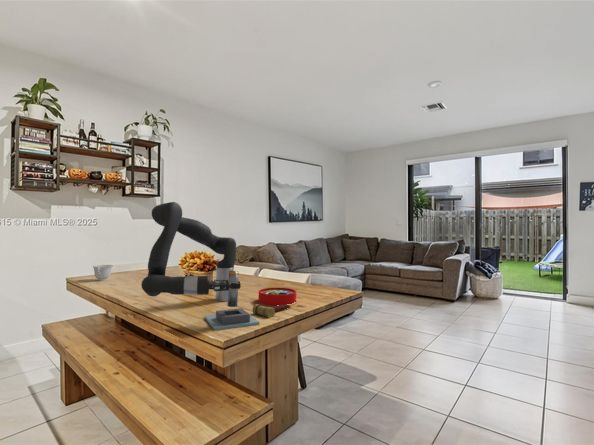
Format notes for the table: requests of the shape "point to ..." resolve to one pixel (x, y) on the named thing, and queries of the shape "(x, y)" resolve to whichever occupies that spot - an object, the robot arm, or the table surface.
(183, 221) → the robot arm
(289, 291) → the toy clock
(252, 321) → the dock
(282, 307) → the gavel
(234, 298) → the chrome cylinder
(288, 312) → the table surface
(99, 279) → the teacup
